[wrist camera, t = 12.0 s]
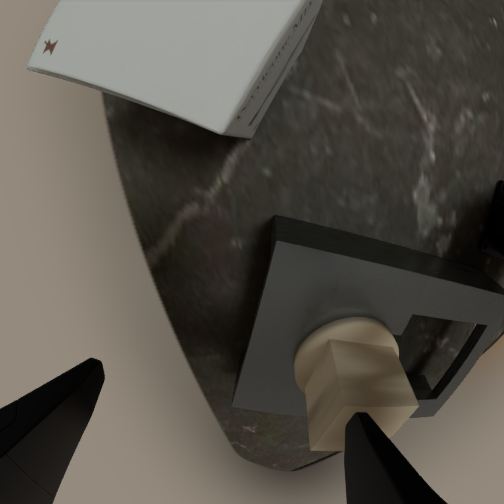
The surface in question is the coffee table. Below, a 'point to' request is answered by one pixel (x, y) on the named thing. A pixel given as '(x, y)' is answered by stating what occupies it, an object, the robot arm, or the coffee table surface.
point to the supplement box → (180, 54)
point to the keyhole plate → (355, 308)
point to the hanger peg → (351, 380)
